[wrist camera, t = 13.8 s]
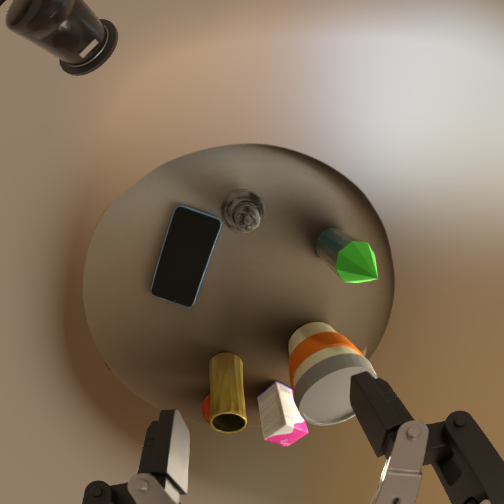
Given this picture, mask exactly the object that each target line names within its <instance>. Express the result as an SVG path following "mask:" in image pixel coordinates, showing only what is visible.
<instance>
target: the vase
mask: <svg viewBox="0 0 504 504" xmlns="http://www.w3.org/2000/svg"><path fill="white" fill-rule="evenodd" d="M209 377H210V425H211V427H212V428H213V429H214V430H216V431H218V432H220V433H225V434H231V433H236V432H239V431H241V430H243V429H244V428H245V427H246V423H247V420H246V409H245V400H244V389H243V363H242V360H241V359H240V358H239V357H238V356H237V355H235V354H232V353H219V354H217V355H215V356H214V357H212V358H211V360H210V362H209Z"/></svg>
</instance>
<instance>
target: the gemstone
mask: <svg viewBox="0 0 504 504" xmlns="http://www.w3.org/2000/svg"><path fill="white" fill-rule="evenodd" d="M335 270H336V271H337V273H338V274H339V276H340V277H341V279H342V280H343V282H352V283H360V282H365V281H370V280H375V279H378V275H377V266H376V258H375V255H374V253H373V251H372V249H371V248H370V246H369V244H368V243H366V242H358V241H352V242H350V243H349V244H348V245H347V246H346V247H344V248H343V249H342V250H341V251H339V253H338V258H337V263H336V268H335Z"/></svg>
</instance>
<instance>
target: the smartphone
mask: <svg viewBox="0 0 504 504" xmlns="http://www.w3.org/2000/svg"><path fill="white" fill-rule="evenodd" d="M221 226H222V222H221V220H220V219H219V218H218V217H215V216H212V215H210V214H207V213H204V212H201V211H198V210H196V209H193V208H190V207H187V206H184V205H179V206H177V207H176V208H175V209H174V212H173V215H172V218H171V221H170V224H169V227H168V230H167V234H166V237H165V240H164V243H163V247H162V250H161V253H160V257H159V260H158V262H157V267H156V270H155V273H154V277H153V280H152V281H153V282H152V286H151V293H152V295H154V296H155V297H158V298H161V299H164V300H166V301H169V302H172V303H175V304H178V305H181V306H184V307H192V306H193V305H194V303H195V300H196V297H197V294H198V291H199V288H200V285H201V282H202V279H203V277H204V274H205V271H206V268H207V265H208V262H209V260H210V257H211V254H212V251H213V248H214V246H215V243H216V240H217V237H218V235H219V232H220V229H221Z"/></svg>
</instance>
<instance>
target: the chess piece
mask: <svg viewBox="0 0 504 504" xmlns="http://www.w3.org/2000/svg"><path fill="white" fill-rule="evenodd" d="M221 215H222V219H223V221H224V223H225V224H226V225H227V226H228V227H229V228H230V229H231V230H233V231H235V232H239V233H247V232H251V231H253V230H255V229H256V228H258V227H259V226H260V225H261V223H262V221H263V220H264V217H265V205H264V202H263V200H262V198H261V197H260V196H259V195H258V194H257V193H255V192H253V191H251V190H248V189H240V190H236V191H234V192H232V193H230V194H229V195H228V196H227V197H226V198H225V200H224V201H223V204H222V207H221Z"/></svg>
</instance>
